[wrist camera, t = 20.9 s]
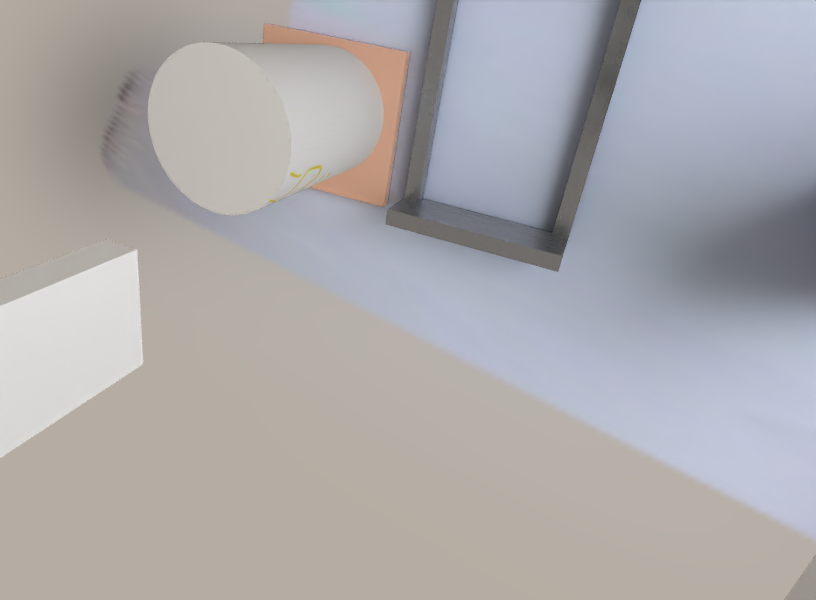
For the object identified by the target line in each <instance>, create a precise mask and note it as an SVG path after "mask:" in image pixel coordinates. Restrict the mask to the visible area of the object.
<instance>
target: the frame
mask: <svg viewBox="0 0 816 600" xmlns="http://www.w3.org/2000/svg"><path fill="white" fill-rule="evenodd" d="M640 2H641V0H621V1H620V4H619V8H618V11H617V15H616V18H615V21H614V25H613V28H612V32H611V35H610V38H609V42H608V45H607V49H606V52H605V56H604V59H603V62H602V66H601V69H600V73H599V76H598V79H597V83H596V86H595V90H594V93H593V96H592V100H591V103H590V107H589V110H588V114H587V117H586V120H585V124H584V127H583V131H582V134H581V137H580V141H579V144H578V148H577V151H576V155H575V158H574V161H573V165H572V168H571V172H570V175H569V178H568V182H567V185H566V189H565V192H564V195H563V199H562V202H561V206H560V209H559V213H558V216H557V219H556V223H555V226H554V230H553V232H549V231H545V230H541V229H537V228H533V227H529V226H526V225H522V224H518V223H514V222H510V221H506V220H503V219H499V218H495V217H491V216H487V215H483V214H480V213H476V212H472V211H468V210H464V209H460V208H457V207H453V206H449V205H445V204H441V203H437V202H434V201H430V200H426V199H423V194H424V188H425V182H426V177H427V171H428V166H429V160H430V155H431V149H432V144H433V138H434V132H435V127H436V121H437V116H438V110H439V105H440V99H441V94H442V88H443V82H444V77H445V71H446V66H447V60H448V55H449V49H450V44H451V38H452V32H453V27H454V21H455V16H456V10H457V5H458V0H437V2H436V8H435V14H434V20H433V26H432V32H431V39H430V45H429V51H428V57H427V63H426V69H425V75H424V81H423V87H422V93H421V99H420V105H419V111H418V117H417V123H416V129H415V136H414V142H413V148H412V154H411V160H410V166H409V172H408V178H407V184H406V190H405V196H404V198H403V199H402V200H400V201H399V202H398V203H396V204H395V205H393V206H392V207H390V208H389V209H388V211H387V218H386V224H387V225H390V226H394V227H398V228H401V229H405V230H409V231H412V232H416V233H419V234H423V235H427V236H430V237H434V238H438V239H441V240H445V241H448V242H452V243H456V244H459V245H463V246H467V247H470V248H474V249H477V250H481V251H485V252H488V253H492V254H496V255H499V256H503V257H507V258H510V259H514V260H517V261H521V262H525V263H528V264H532V265H536V266H539V267H543V268H546V269H550V270H554V271H557V272H558V270H559V267H560V263H561V260H562V257H563V253H564V250H565V247H566V243H567V240H568V236H569V233H570V230H571V227H572V223H573V220H574V217H575V214H576V210H577V207H578V204H579V201H580V197H581V194H582V191H583V188H584V184H585V181H586V178H587V175H588V171H589V168H590V165H591V162H592V158H593V155H594V152H595V149H596V145H597V142H598V139H599V136H600V132H601V129H602V126H603V122H604V119H605V116H606V113H607V109H608V106H609V103H610V100H611V96H612V93H613V90H614V87H615V83H616V80H617V77H618V74H619V70H620V67H621V64H622V61H623V57H624V54H625V51H626V48H627V44H628V41H629V38H630V35H631V31H632V28H633V25H634V22H635V18H636V15H637V12H638V9H639V5H640Z"/></svg>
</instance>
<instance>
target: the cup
mask: <svg viewBox="0 0 816 600" xmlns="http://www.w3.org/2000/svg"><path fill="white" fill-rule="evenodd" d="M383 119H384V109H383V101H382V97H381V93H380V90H379V87H378V84H377V82H376V80H375V78H374V77H373V75H372V73H371V72H370V70H369V69H368V68H367V66H366V65H365V64H364V63H363V62H362V61H361V60H360V59H359V58H357V57H356V56H355V55H353V54H352V53H350V52H349V51H347V50H345V49H342V48H340V47H336V46H332V45H315V44H267V43H219V42H201V43H194V44H190V45H187V46H185V47H182V48H180V49H179V50H177V51H175V52H174V53H173V54H172V55H170V56H169V57H168V58H167V59H166V60H165V61H164V63H163V64H162V65H161V67H160V68H159V70H158V72H157V73H156V76H155V78H154V80H153V83H152V86H151V89H150V94H149V100H148V125H149V131H150V136H151V140H152V144H153V147H154V150H155V153H156V155H157V157H158V160H159V162H160V164H161V166H162V167H163V169H164V171H165V172H166V174H167V175H168V177H169V178H170V180H171V181H172V182H173V183H174V185H175V186H176V187H177V188H178V189H179V190H180V191H181V192H182V193H183V194H184V195H185V196H186V197H188V198H189V199H190V200H191V201H193V202H194V203H196V204H197V205H199V206H201V207H203V208H205V209H207V210H209V211H212V212H215V213H219V214H223V215H243V214H247V213H251V212H253V211H256V210H258V209H260V208H263V207H265V206H267V205H270V204H272V203H274V202H276V201H279V200H281V199H283V198H286V197H288V196H290V195H293V194H295V193H297V192H299V191H302V190H304V189H306V188H309V187H311V186H313V185H316V184H318V183H320V182H322V181H325V180H327V179H329V178H332V177H334V176H336V175H339V174H341V173H343V172H345V171H348V170H350V169H352V168H354V167H356V166H358V165H359V164H361V163H362V162H363V161H365V160H366V159H367V158H368V157H369V155H370V154H371V153H372V152H373V150H374V149H375V147H376V145H377V143H378V141H379V138H380V135H381V132H382V127H383Z"/></svg>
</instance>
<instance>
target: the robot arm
mask: <svg viewBox="0 0 816 600" xmlns="http://www.w3.org/2000/svg"><path fill="white" fill-rule="evenodd" d="M141 333H142V332H141V314H140V294H139V275H138V257H137V249H134V248H131V247H128V246H125V245H122V244H119V243H116V242H113V241H109V240H103V241H100V242H98V243H95V244H92V245H89V246H87V247H84V248H81V249H79V250H76V251H74V252H71V253H68V254H65V255H63V256H60V257H57V258H54V259H52V260H49V261H46V262H44V263H41V264H38V265H36V266H33V267H30V268H27V269H25V270H22V271H19V272H16V273H14V274H11V275H9V276H6V277H3V278H0V458H1V457H3V456H4V455H5V454H7V453H9V452H10V451H12V450H13V449H15V448H16V447H18V446H19V445H21V444H22V443H24V442H25V441H27V440H28V439H30V438H32V437H33V436H35V435H36V434H37V433H39V432H40V431H42V430H44V429H45V428H47V427H48V426H50V425H51V424H53V423H54V422H56V421H57V420H59V419H60V418H62V417H63V416H65V415H66V414H68V413H69V412H71V411H72V410H74V409H76V408H77V407H79V406H80V405H82V404H83V403H84V402H86V401H88V400H89V399H91V398H92V397H94V396H95V395H97V394H98V393H100V392H101V391H103V390H104V389H106V388H107V387H109V386H110V385H112V384H114V383H115V382H117V381H118V380H120V379H121V378H123V377H124V376H126V375H127V374H129V373H130V372H132V371H133V370H135V369H136V368H138V367H139V366H141V365H142V364H143V351H142V334H141ZM784 600H816V555H815V556H814V558H813V559H812V561H811V562H810V563H809V565H808V566H807V568H806V569H805V571H804V572H803V574H802V575H801V576H800V578H799V579H798V581H797V582H796V584H795V585H794V587H793V588H792V589H791V591H790V592H789V594H788V595H787V596H786V598H785V599H784Z"/></svg>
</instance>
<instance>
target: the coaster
mask: <svg viewBox="0 0 816 600" xmlns="http://www.w3.org/2000/svg"><path fill="white" fill-rule="evenodd" d="M263 31H264V32H263V43H267V44H315V45H332V46H336V47H340V48H342V49H345V50H347V51H349V52H350V53H352V54H353V55H355V56H356V57H357V58H359V59H360V60H361V61H362V62H363V63H364V64H365V65H366V66H367V68H368V69H369V70H370V72H371V73H372V75H373V77H374V78H375V80H376V82H377V84H378V87H379V90H380V93H381V97H382V101H383V109H384V119H383V127H382V132H381V135H380V138H379V141H378V143H377V145H376V147H375V149H374V150H373V152H372V153H371V154H370V155H369V157H368V158H367V159H366V160H365V161H363V162H362V163H361V164H359V165H358V166H356V167H354V168H352V169H350V170H348V171H345V172H343V173H341V174H339V175H336V176H334V177H332V178H329V179H327V180H325V181H322V182H320V183H318V184H316V185H313V186H311V187H310V188H313V189H317V190H321V191H325V192H328V193H332V194H336V195H340V196H343V197H347V198H351V199H354V200H358V201H362V202H366V203H369V204H373V205H377V206H380V207H384V206H386V205H387V204H388V197H389V191H390V184H391V178H392V171H393V164H394V158H395V151H396V145H397V138H398V132H399V125H400V118H401V112H402V105H403V99H404V92H405V86H406V79H407V72H408V66H409V59H410V53H411V52H407V51H402V50H397V49H392V48H387V47H383V46H378V45H373V44H368V43H363V42H358V41H353V40H348V39H343V38H338V37H333V36H328V35H323V34H318V33H313V32H308V31H303V30H298V29H293V28H288V27H283V26H278V25H273V24H264V30H263Z"/></svg>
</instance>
